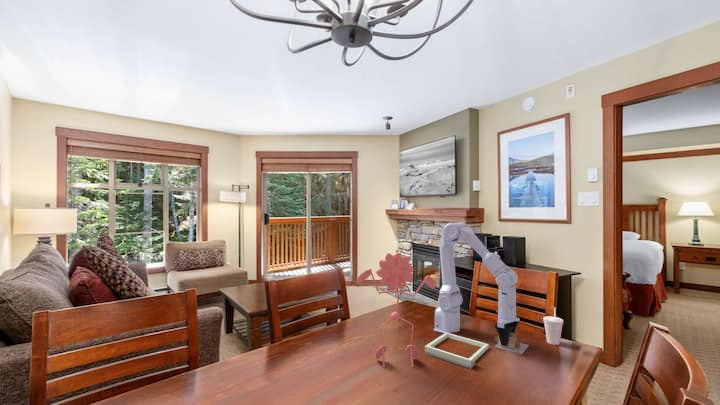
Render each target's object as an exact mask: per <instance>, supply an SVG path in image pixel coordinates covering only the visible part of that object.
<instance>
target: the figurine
mask: <svg viewBox="0 0 720 405" xmlns="http://www.w3.org/2000/svg"><path fill="white" fill-rule="evenodd" d="M410 261H411V257H410V256H402V254H401V252H397V253H395V254H394V255H392V254H391V253H390V252H388V253H387V254H386V255H385V258H384V260H383V259H382V260H379V262H378V265H379V268H380V269H378V270H376V275H377V276H378V278H381V279H380V282H379V283H380V285H382V286H387V285H388V289H389V290H383V291H379V287H378V285H377V282H376V280H375V277H374V275H373V272H372V269H371V268H369V269H366V270H364V271H363V272H362V273H360V274H359V276H358V277H357V279H356V284H357V285H359V284H361V283H362V282H364V281H366V280H367V279H368V278H369V277H371V279H372V281H373V283H374V287H375V289H376V292H377V294H386V293H393V292H394V293H395V294H396V295H397V298H396V299H397V300H396V304H395V309H394V312H392V313H391V315H390V318H388V319H387V320H386V321H385V322H384V323H383V324H382V325H380V328H379V330H380V339H381V340H380V341H381V346H380V347H379V348H378V349H377V348H375V349H372V351H370V352H375V351H376V352H375V354H374V356H375V359H376V360H379V359H380V358H381V357H382V368H386V365H385V364H386V363H385V361H386V360H385V353H386V351H387V349H392V346H391V347H390V346H389V347H388V346H387V345H385V344H384V342H383V333H382V332H383V330H382V327H383V326H385V324H387V323H388V322H389V321H390V320H391V319H392V320H393V321H399V319H400V320H402V321H404V322H406V323H407V324H410V325H411V326H412V327H411V337H410V344H408V345H406V348H405V351H406V354H407V355H408V356H410V360H411V367H412V368H413V367H414V359H415V358H416V357H417V356H418V355H419V350H418V347H416V346H415V345H414V344H413V338H414V335H413V334H414V324H413V323H411V322H409V321H408V320H406V319H404V318H402V316H400V313H399V312H397V308H398V305H399V301H400V294H402V295H406V296H408V297H413V298H414V296H416V295H417V293H418V292H419V291H420V290H421V288H422V287H423V286H424V284H425V285H426V286H427V287H428V288H430V289H432V290H435V289H436V288H437V282H436V280H435V279H434V278H433V277H431V276H429V275H428V274H427V275H426V276H424V279H423V281H422V282H421V284H420V285H418V288H417V289H416V291H415V292H414V293H413V294H412V293H408V292H404V291H401V290H404V289H405V288H406V285H407V282H408V283H412V282H413V281H414V276H413V274H412V272H414V270H415V269H414V267H413V266H412V265H411V264H409V263H410ZM398 288H399V289H400V290H398ZM383 344H384V345H383ZM400 349H401V350H404V348H401V347H399V350H400ZM367 354H369V352H366V355H367ZM413 358H414V359H413Z"/></svg>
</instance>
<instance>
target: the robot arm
mask: <svg viewBox="0 0 720 405" xmlns="http://www.w3.org/2000/svg"><path fill="white" fill-rule="evenodd" d="M441 230H442V233H441V235H440V238H439V240H438V245H439V246H438V247H439V256H440V270H441V282H442V285H441V288H440V290H439V291H438V293H439V296H438V299H437V303H438V307H437V308H435V311H434V328H433V331H434V332H438V333H441V334H445V333H450V334H452V333H457V332H460V330H461V305H462V303H463V302H464V299H463V295H462V294H461V289H460V287H459V286H458V285H457V276H456V274H457V273H456V265H455V264H456V262H455V253H454V252H455V251H454V245H455V244H457V242H464V243H466V244H468V245H469V246H470V247H471V248H472V249H473V250H474V251H475V252H476V253H477V254H478V256H479V257H481V259H482V265H484V266H485V267H486V269H487V270H488V271H489V272H490V273H491V274H492V276H493V277H495V282H496V284H497V286H498V297H497V298H498V304H497V306H498V308H497V309H498V313H497V322H495V324H494V328H495V330H496V331H497V336H498V335H499V338H500V343H501V345H504V346H508V343H509V336H510V333H514V334H515V335H516V331H517V327H518V325H519V323H520V317H517V291H516V290H517V287H516V286H517V283H518V282H519V275H518V274H517V272H516V271H515V269H512V268H510V267H509V265H506V264H505V263H504V262H503V260H502V259H501V256H500V255H499V254H496V253H495V252H490V251H489V249H487V247H486V246H485V245H484V244H483V242H482V241H481V240H480V238H479V237H478V236H477V235H476V234H475V233H474V231H473V229H472V227H469V224H467V223H466V222H464V221H459V222H449V223H447V224H446V225H445V226H444V227H442V229H441Z"/></svg>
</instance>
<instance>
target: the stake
mask: <svg viewBox="0 0 720 405" xmlns="http://www.w3.org/2000/svg"><path fill="white" fill-rule="evenodd" d="M510 336H511V337H512V336H513V334H511V333H510ZM510 336H509V337H510ZM519 343H520V348H516V347H515V348H506V347H502V346H500V345H499V344H498V343H497V342H496V344H495V345H494V348H499V349H502V350H505V351H509V352H513V353H516V354H519V355H522V354H524V352H525V351H526V350H527V349H528V347H529V344H524V343H521V342H519Z"/></svg>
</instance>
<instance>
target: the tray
mask: <svg viewBox="0 0 720 405" xmlns="http://www.w3.org/2000/svg"><path fill="white" fill-rule="evenodd" d="M446 339H451V340H455V341H458V342H463V343H465V344H468V345H472V346H476V347H479V349H478V350H477V351H475V352H474V353H473V354H472V355H471V356H470V357H464V356H462V355H458V354H456V353H452V352H448V351H445V350H442V349H439V348H436V346H437V345H439V344H440V343H441V342H443V341H445V340H446ZM488 349H490V345H489V343H485V342H482V341H478V340H476V339H472V338H468V337H464V336H461V335H456V334H453V333H445V334H444V333H442V334H441V335H440V336H438V337H437V338H435V339H433V341H431V342H429V343H427V344H426V345H424V354H425V355H428V356H431V357H434V358H437V359H440V360H442V361H446V362H449V363H452V364H455V365H457V366H461V367H464V368H467V369H472V368H473V367H474V366H475V365H476V364H477V360H478V359H479V358H480V357H481V356H482V355H483V354H484V353H485V352H487V351H488Z"/></svg>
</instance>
